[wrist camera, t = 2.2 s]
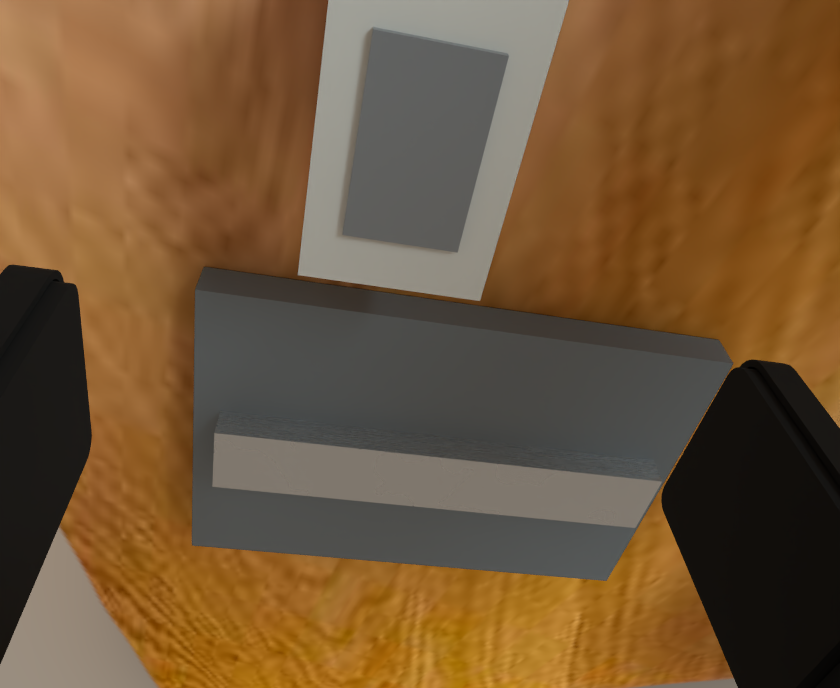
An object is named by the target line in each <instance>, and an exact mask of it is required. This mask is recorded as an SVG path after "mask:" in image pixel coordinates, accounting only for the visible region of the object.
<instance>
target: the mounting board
mask: <svg viewBox="0 0 840 688" xmlns="http://www.w3.org/2000/svg"><path fill="white" fill-rule="evenodd" d="M732 365H733V362H732V360H731V359H730V357H729V356H728V354H727V352H726V351H725V349H724V347H723V346H722V344H721V343H720V341H719V340H716V339H709V338H702V337H695V336H687V335H680V334H673V333H666V332H659V331H652V330H645V329H638V328H631V327H624V326H617V325H610V324H603V323H596V322H589V321H582V320H575V319H568V318H561V317H554V316H547V315H540V314H533V313H526V312H519V311H512V310H505V309H498V308H491V307H484V306H477V305H470V304H463V303H456V302H448V301H441V300H434V299H427V298H420V297H413V296H406V295H399V294H392V293H385V292H378V291H371V290H364V289H357V288H350V287H343V286H336V285H329V284H322V283H315V282H308V281H301V280H294V279H287V278H280V277H273V276H266V275H259V274H252V273H245V272H238V271H231V270H224V269H216V268H209V267H204V268H203V270H202V273H201V275H200V278H199V281H198V283H197V286H196V289H195V339H194V417H193V495H192V545H194V546H205V547H217V548H229V549H241V550H252V551H264V552H276V553H287V554H299V555H311V556H322V557H334V558H346V559H358V560H369V561H381V562H393V563H404V564H416V565H428V566H440V567H451V568H463V569H475V570H486V571H498V572H510V573H521V574H533V575H545V576H557V577H568V578H580V579H592V580H603V581H607V579H608V577H609V576H610V574H611V572H612V570H613V569H614V567H615V565H616V564H617V562H618V560H619V558H620V557H621V555H622V553H623V552H624V550H625V548H626V546H627V545H628V543H629V541H630V540H631V538H632V536H633V535H634V533H635V531H636V529H637V528H638V526H639V524H640V523H641V521H642V519H643V517H644V516H645V514H646V512H647V511H648V509H649V507H650V505H651V504H652V502H653V500H654V499H655V497H656V495H657V493H658V492H659V490H660V488H661V487H662V485H663V483H664V482H665V480H666V478H667V476H668V475H669V473H670V471H671V470H672V468H673V466H674V464H675V463H676V461H677V459H678V458H679V456H680V454H681V452H682V451H683V449H684V447H685V446H686V444H687V442H688V440H689V439H690V437H691V435H692V434H693V432H694V430H695V429H696V427H697V425H698V423H699V422H700V420H701V418H702V417H703V415H704V413H705V411H706V410H707V408H708V406H709V405H710V403H711V401H712V399H713V398H714V396H715V394H716V393H717V391H718V389H719V387H720V386H721V384H722V382H723V381H724V379H725V377H726V376H727V374H728V372H729V370H730V369H731V367H732ZM220 411H223V412H231V413H240V414H249V415H258V416H267V417H276V418H284V419H293V420H302V421H311V422H320V423H329V424H337V425H346V426H355V427H364V428H373V429H382V430H390V431H399V432H408V433H417V434H426V435H434V436H443V437H452V438H461V439H470V440H479V441H487V442H496V443H505V444H514V445H523V446H532V447H540V448H549V449H558V450H567V451H576V452H585V453H593V454H602V455H611V456H620V457H629V458H638V459H646V460H654V463H655V465H656V467H657V470H658V472H659V475H660V477H661V480H662V483H661V485H660V487H659V488H658V490H657V492H656V493H655V495H654V497H653V499H652V500H651V502H650V504H649V505H648V507H647V509H646V511H645V512H644V514H643V516H642V518H641V519H640V521H639V523H638V524H637V526H636V528H630V527H619V526H609V525H599V524H589V523H578V522H568V521H558V520H548V519H537V518H527V517H517V516H507V515H496V514H486V513H476V512H466V511H456V510H445V509H435V508H425V507H415V506H404V505H394V504H384V503H374V502H363V501H353V500H343V499H333V498H323V497H312V496H302V495H292V494H282V493H271V492H261V491H251V490H241V489H230V488H220V487H212V485H213V458H214V433H215V429H216V425H217V421H218V418H219V414H220Z"/></svg>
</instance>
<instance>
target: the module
mask: <svg viewBox="0 0 840 688" xmlns="http://www.w3.org/2000/svg"><path fill="white" fill-rule="evenodd" d="M568 2H569V0H329V1H328V10H327V18H326V27H325V36H324V45H323V54H322V63H321V72H320V81H319V90H318V99H317V108H316V117H315V125H314V134H313V143H312V152H311V161H310V170H309V179H308V188H307V197H306V206H305V215H304V224H303V233H302V241H301V250H300V259H299V268H298V275H301V276H308V277H315V278H322V279H329V280H336V281H343V282H350V283H357V284H364V285H371V286H378V287H385V288H392V289H399V290H406V291H413V292H420V293H427V294H434V295H441V296H448V297H455V298H462V299H469V300H476V301H480V299H481V296H482V292H483V289H484V286H485V282H486V279H487V276H488V272H489V269H490V265H491V262H492V259H493V255H494V252H495V249H496V245H497V242H498V238H499V235H500V232H501V228H502V225H503V222H504V218H505V215H506V211H507V208H508V205H509V201H510V198H511V195H512V191H513V188H514V184H515V181H516V178H517V174H518V171H519V168H520V164H521V161H522V157H523V154H524V151H525V147H526V144H527V141H528V137H529V134H530V130H531V127H532V124H533V120H534V117H535V114H536V110H537V107H538V103H539V100H540V97H541V93H542V90H543V87H544V83H545V80H546V77H547V73H548V70H549V66H550V63H551V60H552V56H553V53H554V50H555V46H556V43H557V39H558V36H559V33H560V29H561V26H562V23H563V19H564V16H565V12H566V9H567V6H568Z"/></svg>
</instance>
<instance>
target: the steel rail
mask: <svg viewBox="0 0 840 688" xmlns="http://www.w3.org/2000/svg"><path fill="white" fill-rule="evenodd" d="M661 483H662V480H661V477H660V475H659V472H658V470H657V467H656V465H655V463H654V460H646V459H638V458H629V457H620V456H611V455H602V454H593V453H585V452H576V451H567V450H558V449H549V448H540V447H532V446H523V445H514V444H505V443H496V442H487V441H479V440H470V439H461V438H452V437H443V436H434V435H426V434H417V433H408V432H399V431H390V430H382V429H373V428H364V427H355V426H346V425H337V424H329V423H320V422H311V421H302V420H293V419H284V418H276V417H267V416H258V415H249V414H240V413H231V412H223V411H220V414H219V418H218V421H217V425H216V429H215V433H214V458H213V485H212V487H220V488H230V489H241V490H251V491H261V492H271V493H282V494H292V495H302V496H312V497H323V498H333V499H343V500H353V501H363V502H374V503H384V504H394V505H404V506H415V507H425V508H435V509H445V510H456V511H466V512H476V513H486V514H496V515H507V516H517V517H527V518H537V519H548V520H558V521H568V522H578V523H589V524H599V525H609V526H619V527H630V528H636V526H637V524H638V523H639V521H640V519H641V518H642V516H643V514H644V512H645V511H646V509H647V507H648V505H649V504H650V502H651V500H652V499H653V497H654V495H655V493H656V492H657V490H658V488H659V487H660V485H661Z"/></svg>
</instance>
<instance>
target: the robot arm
mask: <svg viewBox="0 0 840 688" xmlns="http://www.w3.org/2000/svg"><path fill="white" fill-rule="evenodd" d="M91 438H92V434H91V422H90V411H89V401H88V390H87V380H86V370H85V359H84V349H83V338H82V328H81V317H80V307H79V297H78V290H77V287H76V285H75V284H72V283H64V281H63V277H62V275H61V273H60V272H59V271H58V270H51V269H43V268H35V267H27V266H19V265H9V266H8V267H6V268H5V269H4V270H3V272H2V273H1V274H0V664H1V661H2V659H3V657H4V654H5V652H6V650H7V647H8V645H9V643H10V640H11V638H12V635H13V633H14V631H15V628H16V626H17V624H18V621H19V618H20V616H21V614H22V612H23V610H24V607H25V605H26V603H27V600H28V598H29V595H30V593H31V591H32V588H33V586H34V584H35V581H36V579H37V577H38V574H39V572H40V569H41V567H42V565H43V563H44V560H45V558H46V555H47V553H48V551H49V548H50V546H51V544H52V541H53V539H54V537H55V534H56V532H57V530H58V527H59V525H60V523H61V520H62V518H63V515H64V513H65V511H66V508H67V506H68V504H69V501H70V499H71V497H72V494H73V492H74V490H75V487H76V485H77V483H78V480H79V478H80V475H81V473H82V471H83V468H84V466H85V464H86V461H87V459H88V456H89V452H90V447H91ZM662 508H663V511H664V514H665V516H666V519H667V521H668V523H669V526H670V528H671V530H672V533H673V535H674V537H675V540H676V542H677V545H678V547H679V549H680V552H681V554H682V556H683V559H684V561H685V563H686V566H687V568H688V571H689V573H690V575H691V578H692V580H693V582H694V585H695V587H696V589H697V592H698V594H699V597H700V599H701V601H702V604H703V606H704V608H705V611H706V613H707V615H708V618H709V620H710V622H711V625H712V627H713V630H714V632H715V634H716V637H717V639H718V641H719V644H720V646H721V648H722V651H723V653H724V656H725V658H726V660H727V663H728V665H729V667H730V670H731V672H732V674H733V677H734V679H735V682H736V684H737V686H738V688H840V428H839V427H838V426H837V424H836V423H835V422H834V420H833V419H832V418H831V417H830V415H829V414H828V413H827V411H826V410H825V409H824V407H823V406H822V405H821V403H820V402H819V401H818V399H817V398H816V397H815V396H814V394H813V393H812V392H811V390H810V389H809V388H808V386H807V385H806V384H805V382H804V381H803V380H802V378H801V377H800V376H799V375H798V373H797V372H796V371H795V369H793V368H792V367H791V366H790V365H787V364H783V363H776V362H768V361H760V360H748V361H746V362H745V363H743V364H742V365H741V366H740V367H739V368H735V369H733V370H732V371H731V372H730V373H729V374H728V376H727V378H726V379H725V381H724V383H723V385H722V386H721V388H720V390H719V392H718V393H717V395H716V397H715V399H714V400H713V402H712V404H711V406H710V407H709V409H708V411H707V413H706V414H705V416H704V418H703V420H702V421H701V423H700V425H699V427H698V428H697V430H696V432H695V434H694V435H693V437H692V439H691V441H690V442H689V444H688V446H687V448H686V449H685V451H684V453H683V455H682V456H681V458H680V460H679V462H678V463H677V465H676V467H675V469H674V470H673V472H672V474H671V476H670V477H669V479H668V481H667V483H666V484H665V486H664V489H663V492H662Z"/></svg>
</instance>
